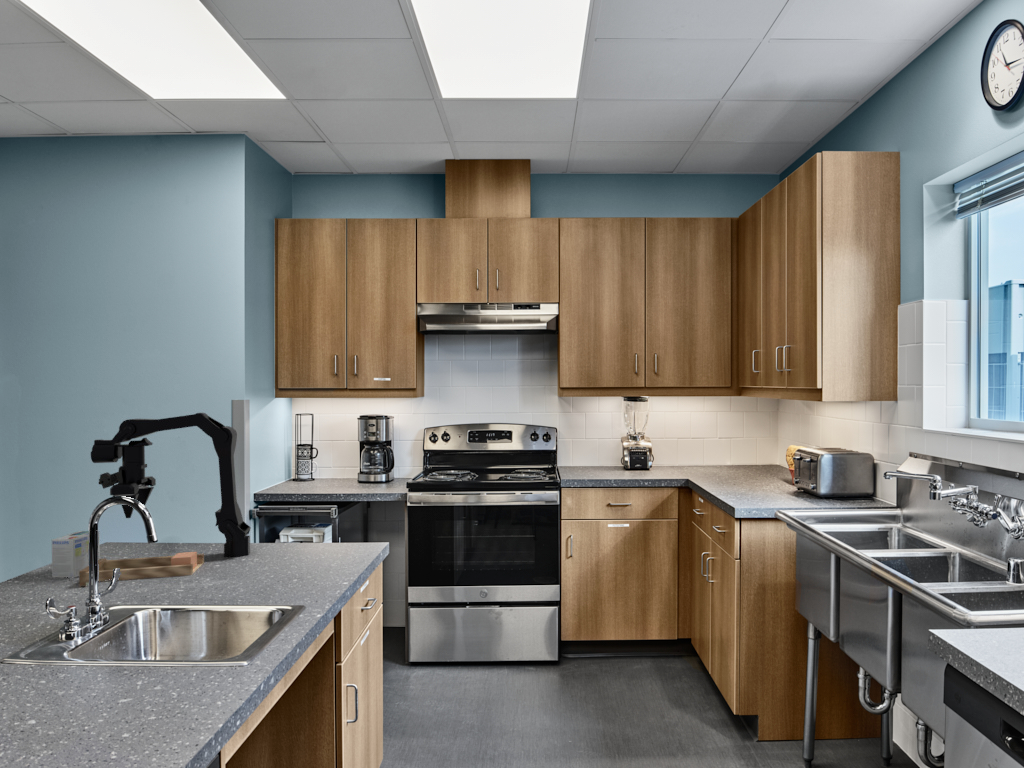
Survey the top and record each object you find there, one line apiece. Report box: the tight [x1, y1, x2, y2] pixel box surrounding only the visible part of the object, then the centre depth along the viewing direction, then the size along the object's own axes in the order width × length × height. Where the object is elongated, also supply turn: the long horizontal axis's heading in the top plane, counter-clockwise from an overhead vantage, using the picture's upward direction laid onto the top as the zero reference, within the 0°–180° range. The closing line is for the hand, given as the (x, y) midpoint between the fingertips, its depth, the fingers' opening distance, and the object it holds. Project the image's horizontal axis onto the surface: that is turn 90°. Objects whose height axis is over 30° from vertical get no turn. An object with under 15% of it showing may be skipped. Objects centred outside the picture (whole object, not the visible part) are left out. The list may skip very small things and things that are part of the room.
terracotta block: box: [171, 551, 198, 569], centre depth 178 cm, size 5×6×4 cm
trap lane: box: [78, 553, 205, 588], centre depth 176 cm, size 27×13×4 cm, turn 102°
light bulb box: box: [51, 530, 101, 579], centre depth 181 cm, size 11×7×11 cm, turn 178°
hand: (134, 515), depth 188 cm, fingers open, 9 cm apart
